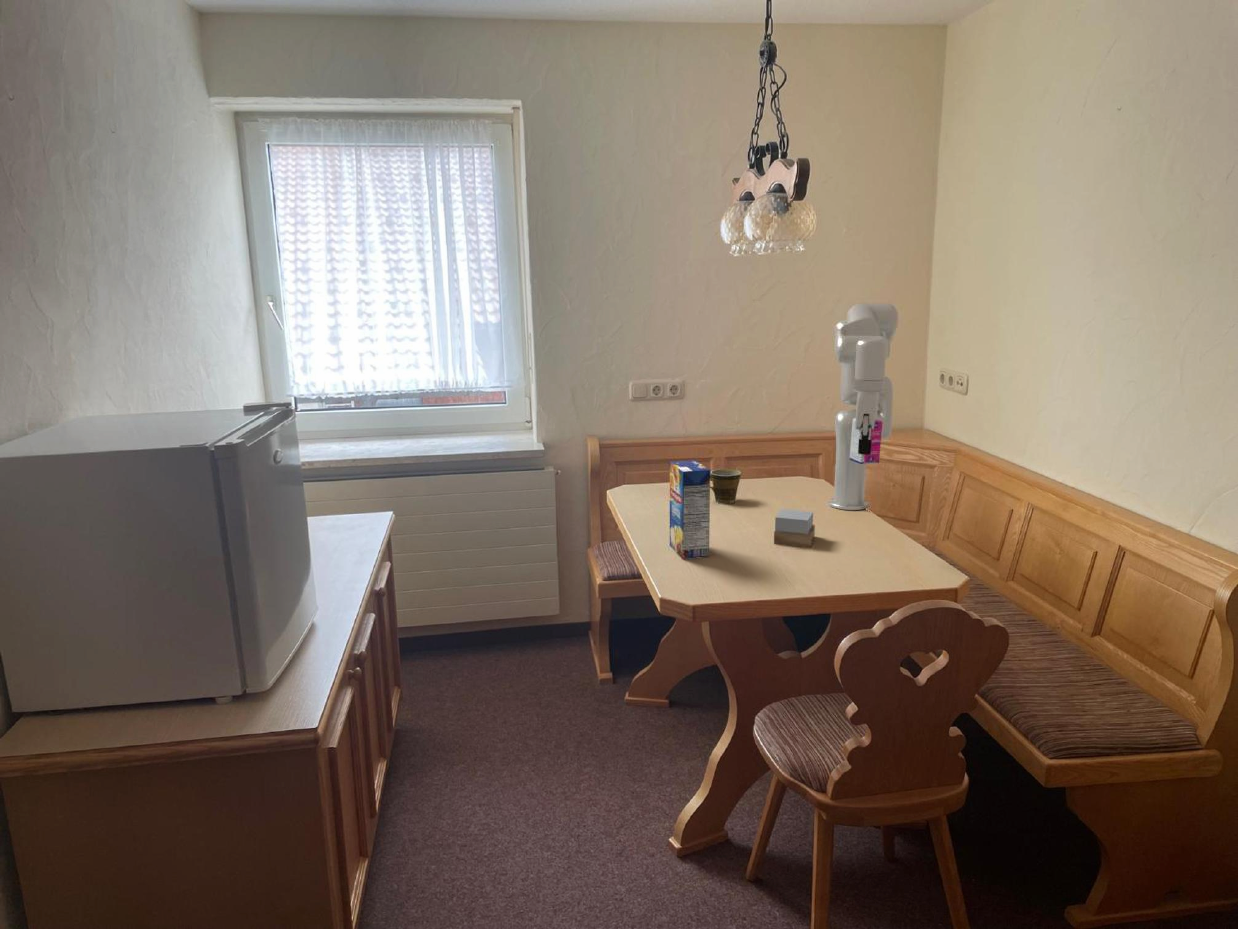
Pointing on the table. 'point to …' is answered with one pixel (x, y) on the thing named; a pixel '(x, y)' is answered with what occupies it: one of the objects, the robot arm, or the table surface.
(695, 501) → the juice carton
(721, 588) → the table surface
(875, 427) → the supplement box
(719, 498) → the ceramic cup
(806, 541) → the tower base slab
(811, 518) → the tower top slab
